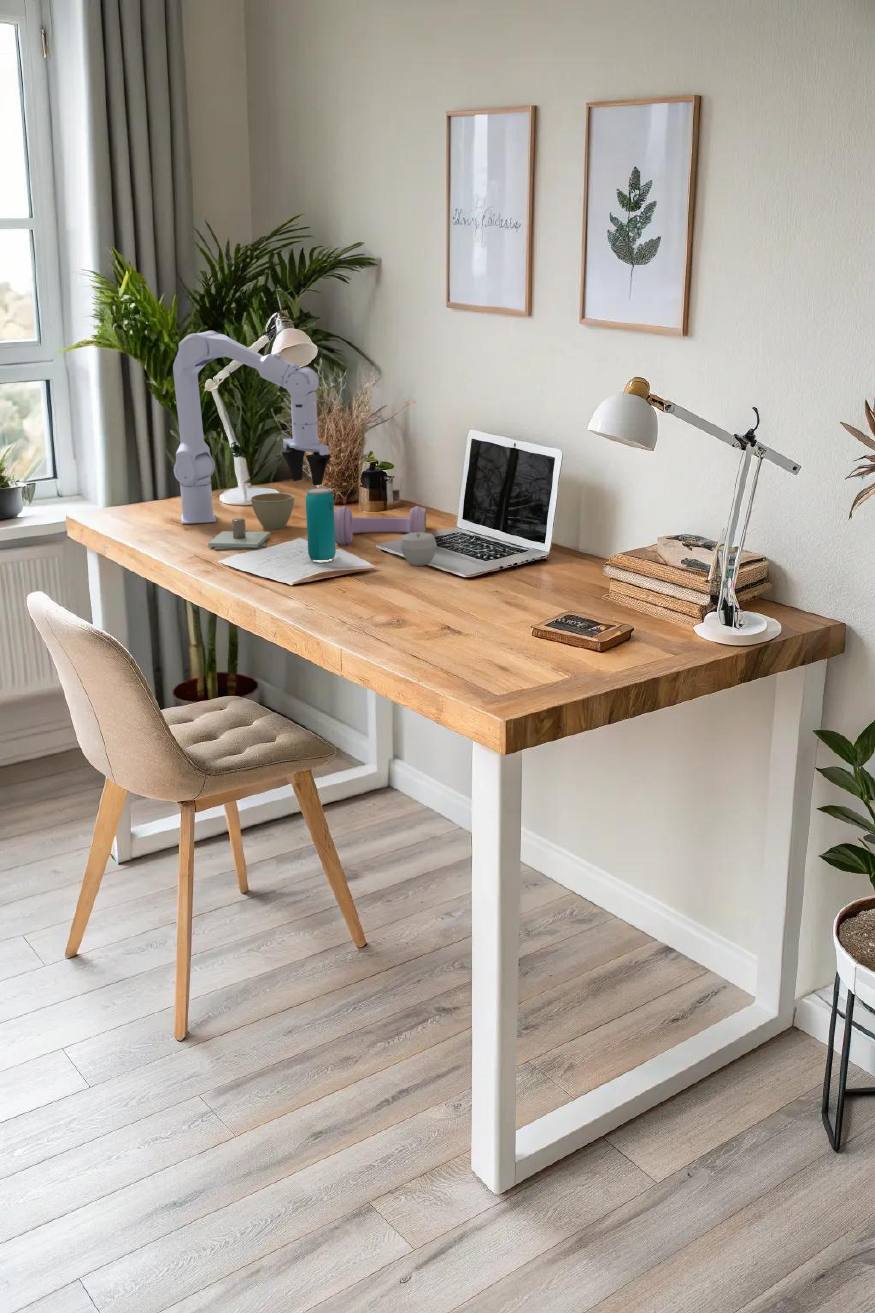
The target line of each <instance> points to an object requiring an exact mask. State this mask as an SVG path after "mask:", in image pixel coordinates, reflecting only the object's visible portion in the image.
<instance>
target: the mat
mask: <svg viewBox="0 0 875 1313" xmlns="http://www.w3.org/2000/svg"><path fill="white" fill-rule="evenodd" d="M216 536H217V535H215V536H213V535H212V539H214V538H215V537H216ZM266 548H267V545H266V540H265V541H264V542H263V543H262V544H261V545H260V546H259V547H257V548H255V547H214V551H216V552H218V551H219V552H220V551H222V552H223V551H234V550H237V551H238V550H249V549H266Z"/></svg>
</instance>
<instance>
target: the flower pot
mask: <svg viewBox="0 0 875 1313" xmlns="http://www.w3.org/2000/svg"><path fill="white" fill-rule="evenodd" d="M250 501H251V505H252V509H253V512H254V514H255V517H256V518H257V521H258V522H259V524H260V525H261V526H262V528H263V529H265V530H282V529H284V528H286V526H287V525H288V522H289V521H290V518H291V515H292V512H293V508H294V503H295V495H294V494H291V493H286V492H285V493H284V492H270V493H268V492H267V493H266V492H265V493H261V494H256V495H253V496H251V497H250Z"/></svg>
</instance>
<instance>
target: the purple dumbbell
mask: <svg viewBox="0 0 875 1313" xmlns="http://www.w3.org/2000/svg"><path fill="white" fill-rule="evenodd" d="M426 512H427V510H426V508H424V507H421V506H419V505H418V506H417V505H415V506H414V507H412V508H410V510H409V513H408V516H407V517H406V516H405V517H404V516H403V517H402V516H400V517H397V516H396V517H395V516H394V517H393V516H388V517H387V516H385V517H382V516H379V517H378V516H375V517H372V516H371V517H370V516H369V517H367V516H366V517H363V516H362V517H353V513H352V510H351V508H349V507H347V506H340V507H338V508H334V523H335V544H339V545H341V546H347V545H349V544H351V543H352V541H353V534H371V533H372V534H373V533H374V534H376V533H398V534H399V533H400V534H401V533H404V534H409V533H415V532H423V533H427V514H426Z"/></svg>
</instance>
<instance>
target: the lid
mask: <svg viewBox="0 0 875 1313" xmlns="http://www.w3.org/2000/svg"><path fill="white" fill-rule="evenodd" d="M245 520H246V519H245V518H241V517H239V518H238V517H237V518H233V519H231V525H232V530H230V531H227V530H222V531H221V532H220V533H218V534H217V535H215V536H216V537H215V538H214V539H213V538H212V539H211V540H210V541H209V542H208V543H207V544H208V548H209V547H210V548H212V547H214V548H215V547H255V548H254V549H258V548H257V547H259V546H260V545H261V544H262V543H263V542H264V541H265V542H266V540H267V539H268V538H269V537H270V536H271V532H270V531H246V521H245Z"/></svg>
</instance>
